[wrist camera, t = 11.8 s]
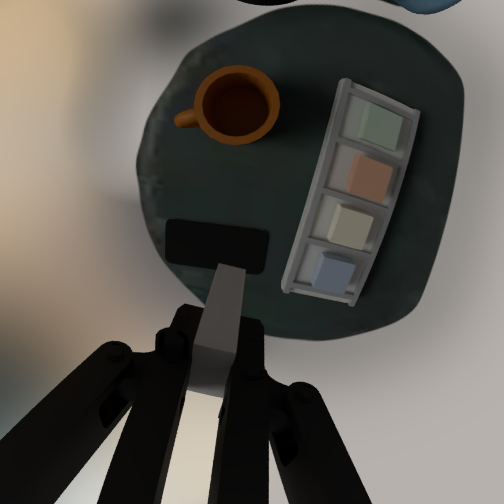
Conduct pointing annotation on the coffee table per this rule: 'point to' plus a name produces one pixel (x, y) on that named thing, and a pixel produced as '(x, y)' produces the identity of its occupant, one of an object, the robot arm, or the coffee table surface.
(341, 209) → the key cream
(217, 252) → the smartphone
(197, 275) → the coffee table surface
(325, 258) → the key blue
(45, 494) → the robot arm
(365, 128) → the key sage
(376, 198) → the key terracotta
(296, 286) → the keypad
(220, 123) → the mug
